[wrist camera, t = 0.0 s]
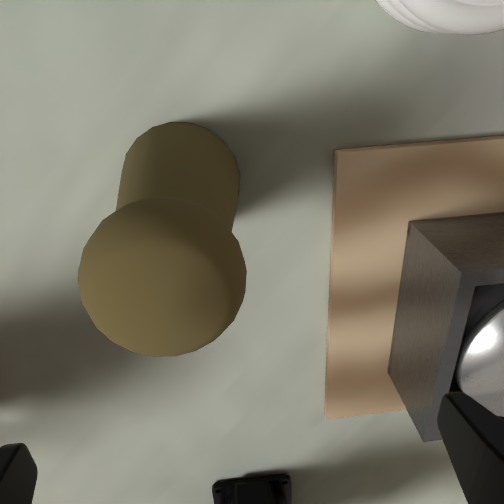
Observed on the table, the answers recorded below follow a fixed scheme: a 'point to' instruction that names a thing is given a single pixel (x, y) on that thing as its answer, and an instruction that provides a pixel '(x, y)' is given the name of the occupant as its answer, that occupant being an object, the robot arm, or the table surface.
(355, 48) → the table surface
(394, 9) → the white round container
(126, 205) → the pepper shaker
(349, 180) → the tan square board
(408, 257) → the shallow square tray
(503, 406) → the plunger
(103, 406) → the table surface
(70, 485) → the table surface
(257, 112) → the table surface
